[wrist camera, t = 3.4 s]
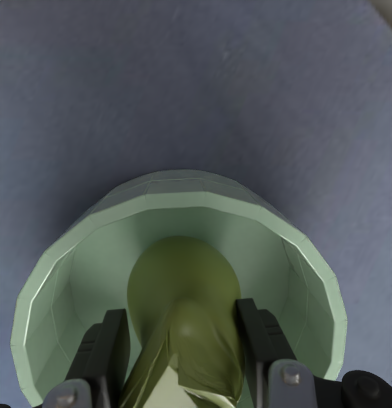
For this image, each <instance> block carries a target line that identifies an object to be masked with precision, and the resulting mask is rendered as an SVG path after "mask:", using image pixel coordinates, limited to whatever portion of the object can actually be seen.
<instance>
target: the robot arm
mask: <svg viewBox="0 0 392 408" xmlns="http://www.w3.org/2000/svg"><path fill="white" fill-rule="evenodd" d="M236 306H237V314H238V333H239V336H240V339H241V342H242V346H243V350H244V355H245V376H246V380H247V384H248V387H249V391H250V395H251V398H252V402H253V406H254V408H392V387H391V386H390V385H389V384H388V383H387V382H385V381H384V380H383V379H382V378H380V377H378V376H377V375H374V374H372V373H370V372H366V371H361V370H354V371H349V372H347V373H346V374H345V375H344V376H343V378H342V382H339V381H333V380H328V379H323V378H319V377H316V376H314V375H313V374H312V372H311V371H310V369H309V368H308V367H307V366H305V365H304V364H302V363H301V362H299V361H298V360H297V358H296V356H295V354H294V353H293V351H292V349H291V347H290V345H289V343H288V341H287V339H286V337H285V335H284V334H283V331H282V329H281V327H280V325H279V323H278V321H277V319H276V317H275V316H274V315H273V314H272V313H271V312H269V311H268V310H267V309H260V310H257V307H256V305H255V303H254V300H253V298H244V299H236ZM130 351H131V342H130V334H129V326H128V319H127V312H126V309H125V308H124V309H112V310H107V311H106V314H105V316H104V319H103V322H102V323H96V324H93V325H92V326H91V327H90V328H89V329H88V330H87V331H86V332H85V334H84V336H83V339H82V341H81V344H80V345H79V348H78V350H77V353H76V355H75V357H74V359H73V361H72V364H71V366H70V368H69V371H68V373H67V375H66V377H65V380H64V382H62V383H60V384H58V385H56V386H55V387H54V388H53V389H51V390H50V391H49V393H48V394H47V395H46V397H45V398H44V401H43V403H42V404H40V405H38V406H36V407H33V408H117V407H118V400H119V397H120V394H121V392H122V389H123V386H124V383H125V378H126V373H127V368H128V363H129V358H130ZM0 408H11V407H10V406H8V405H6V404H0Z"/></svg>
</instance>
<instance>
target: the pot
mask: <svg viewBox="0 0 392 408" xmlns="http://www.w3.org/2000/svg"><path fill="white" fill-rule="evenodd" d="M170 236H189V237H193V238H197V239H200V240H202V241H204V242H206V243H208V244H210V245H211V246H213V247H214V248H215V249H217V250H218V251H219V252H220V253H221V254H222V255H223V256H224V257H225V258H226V259H227V260H228V262H229V263H230V265H231V266H232V268H233V270H234V271H235V273H236V276H237V278H238V281H239V285H240V290H241V298H242V299H244V298H253V300H254V303H255V305H256V307H257V310H260V309H267V310H268V311H269V312H271V313H272V314H273V315H274V316H275V317H276V319H277V321H278V323H279V325H280V327H281V329H282V331H283V334H284V335H285V337H286V339H287V341H288V343H289V345H290V347H291V349H292V351H293V353H294V354H295V356H296V358H297V360H298V361H299V362H301V363H302V364H304V365H305V366H307V367H308V368H309V369H310V371H311V372H312V374H313V375H314V376H316V377H319V378H323V379H328V380H333V381H335V380H336V378H337V376H338V373H339V371H340V369H341V367H342V365H343V360H344V351H345V341H346V331H347V315H346V311H345V307H344V304H343V300H342V296H341V293H340V289H339V285H338V282H337V278H336V276H335V273H334V272H333V271H332V269H331V268H330V266H329V265H328V264H327V262H326V261H325V260H324V258H323V257H322V256H321V254H320V253H319V252H318V250H317V249H316V247H315V246H314V245H313V243H312V242H311V241H310V239H309V238H308V237H307V236H306V235H305V234H304V233H303V232H302V231H301V230H299V229H298V228H297V227H296V226H295V225H294V224H293V223H291V222H290V221H289V220H288V219H287V218H286V217H284V216H283V215H282V214H281V213H280V212H279V211H278V210H276V209H275V208H274V207H273V206H272V205H271V204H269V203H268V202H267V201H266V200H264V199H263V198H261V197H260V196H258V195H257V194H255V193H254V192H253V191H251V190H250V189H248V188H247V187H245V186H243V185H242V184H240V183H239V182H237V181H235V180H233V179H229V178H226V177H224V176H221V175H218V174H214V173H210V172H205V171H200V170H189V169H177V170H165V171H159V172H153V173H149V174H146V175H143V176H140V177H136V178H134V179H132V180H130V181H128V182H125V183H123V184H121V185H118V186H117V187H115V188H113V189H112V190H111V191H110V192H108V193H107V194H106V195H105V196H104V197H102V198H101V199H100V200H99V201H98V202H96V203H95V204H94V205H93V206H91V207H90V208H89V209H88V210H87V211H85V212H84V213H83V214H82V215H81V216H80V217H79V218H78V219H77V220H76V221H75V222H74V223H73V224H72V225H71V226H70V227H69V228H68V229H67V230H66V231H65V232H64V233H63V234H62V235H61V236H59V237H58V238H57V239H56V240H55V241H54V242H53V243H52V244H51V245H50V246H49V247H48V248H47V249H46V250H45V251H44V252H43V254H42V255H41V257H40V259H39V260H38V262H37V264H36V265H35V267H34V269H33V270H32V272H31V274H30V276H29V277H28V279H27V281H26V282H25V284H24V286H23V287H22V289H21V291H20V293H19V294H18V297H17V301H16V307H15V314H14V320H13V327H12V333H11V340H10V348H11V352H12V356H13V360H14V365H15V369H16V373H17V377H18V382H19V386H20V388H21V391H22V393H23V394H24V396H25V397H26V399H27V400H28V402H29V403H30V405H31V406H32V408H33V407H36V406H38V405H40V404H42V403H43V401H44V398H45V397H46V395H47V394H48V393H49V391H50V390H51V389H53V388H54V387H55V386H56V385H58V384H60V383H62V382H64V380H65V377H66V375H67V373H68V371H69V368H70V366H71V364H72V361H73V359H74V357H75V355H76V353H77V350H78V348H79V345H80V344H81V341H82V339H83V336H84V334H85V332H86V331H87V330H88V329H89V328H90V327H91V326H92V325H93V324H96V323H102V322H103V319H104V316H105V314H106V311H107V310H112V309H124V308H125V309H126V312H127V319H128V326H129V334H130V342H131V351H130V358H129V363H128V368H127V373H126V378H125V382H126V380H127V379H128V377H129V374H130V372H131V370H132V368H133V366H134V364H135V362H136V360H137V358H138V356H139V354H140V352H141V349H142V348H141V345H140V343H139V341H138V339H137V336H136V333H135V331H134V328H133V325H132V322H131V318H130V314H129V309H128V303H127V286H128V280H129V276H130V273H131V271H132V269H133V266H134V265H135V263H136V261H137V260H138V258H139V257H140V255H141V254H142V253H143V252H144V251H145V250H146V249H147V248H148V247H149V246H151V245H152V244H153V243H155V242H157V241H158V240H161V239H163V238H166V237H170ZM124 384H125V383H124ZM236 406H237V408H254V406H253V402H252V398H251V395H250V391H249V387H248V384H247V380H246V376H245V377H244V383H243V390H242V394H241V397H240V399H239V401H238V403H237V405H236Z"/></svg>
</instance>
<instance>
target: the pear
mask: <svg viewBox="0 0 392 408" xmlns="http://www.w3.org/2000/svg"><path fill="white" fill-rule="evenodd" d="M236 299H242V298H241V290H240V285H239V281H238V278H237V276H236V273H235V271H234V270H233V268H232V266H231V265H230V263H229V262H228V260H227V259H226V258H225V257H224V256H223V255H222V254H221V253H220V252H219V251H218V250H217V249H215V248H214V247H213V246H211V245H210V244H208V243H206V242H204V241H202V240H200V239H197V238H193V237H189V236H170V237H166V238H163V239H161V240H158V241H157V242H155V243H153V244H152V245H151V246H149V247H148V248H147V249H146V250H145V251H144V252H143V253H142V254H141V255H140V257H139V258H138V260H137V261H136V263H135V265H134V266H133V269H132V271H131V273H130V276H129V280H128V286H127V303H128V309H129V314H130V318H131V322H132V325H133V328H134V331H135V333H136V336H137V339H138V341H139V343H140V345H141V348H142V349H141V352H140V354H139V356H138V358H137V360H136V362H135V364H134V366H133V368H132V370H131V372H130V374H129V377H128V379H127V380H126V382H125V384H124V386H123V389H122V392H121V394H120V397H119V400H118V407H117V408H237V406H236V405H237V403H238V401H239V399H240V397H241V394H242V390H243V383H244V377H245V355H244V350H243V346H242V342H241V339H240V336H239V333H238V314H237V306H236Z"/></svg>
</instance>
